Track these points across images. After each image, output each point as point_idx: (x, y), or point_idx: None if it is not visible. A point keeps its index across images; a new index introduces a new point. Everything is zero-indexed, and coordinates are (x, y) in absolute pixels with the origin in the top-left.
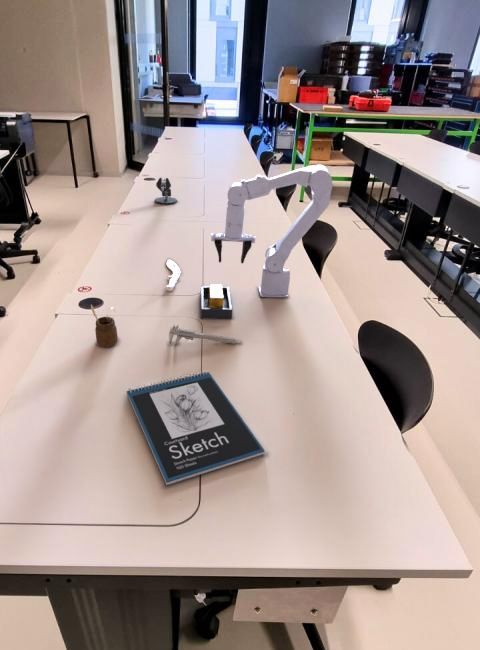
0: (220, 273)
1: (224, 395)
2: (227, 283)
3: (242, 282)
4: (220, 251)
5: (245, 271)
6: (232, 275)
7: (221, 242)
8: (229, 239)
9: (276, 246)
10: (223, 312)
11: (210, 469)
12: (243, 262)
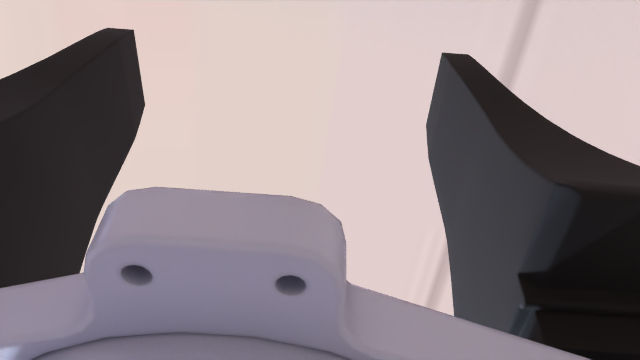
0: (335, 210)
1: None
2: (303, 57)
3: (174, 71)
4: (518, 131)
5: None
6: (250, 181)
7: (535, 299)
8: (382, 315)
9: None
10: None
11: None
12: (98, 33)
